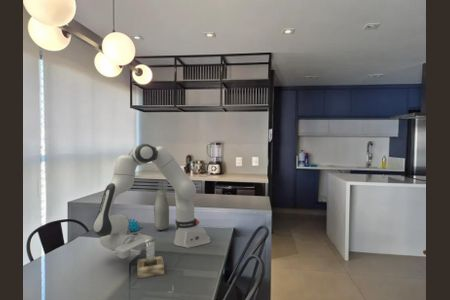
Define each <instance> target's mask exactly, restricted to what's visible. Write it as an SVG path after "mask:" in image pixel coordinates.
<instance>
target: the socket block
mask: <svg viewBox="0 0 450 300" xmlns="http://www.w3.org/2000/svg"><path fill="white" fill-rule="evenodd" d="M136 261H137V262H136V263H137V264H136V265H137V266H136V268H137V270H136V271H137V273H136V274H137V275H136V276H137V279H141V278H147V277H154V275H155V276H159V275H165V263H164V259H163V255H159V256H155V265H152V266H146V257H145V258H138V259H136Z"/></svg>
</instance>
